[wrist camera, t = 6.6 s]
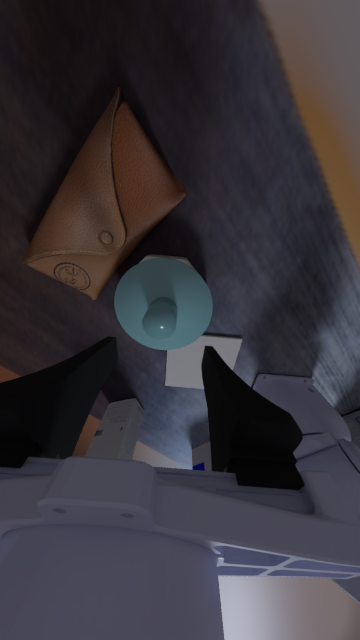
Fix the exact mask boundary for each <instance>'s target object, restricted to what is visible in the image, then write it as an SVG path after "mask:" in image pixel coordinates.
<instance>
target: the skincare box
mask: <svg viewBox="0 0 360 640" xmlns="http://www.w3.org/2000/svg"><path fill="white" fill-rule="evenodd" d="M143 413H144V410H143V408H142V407H141V405H140V404H139V402H138V401H137V399H136V398H133V399H127V400H122V401H117V402H112V403H110V404H109V405H108V407H107V409H106V412H105V414H104V416H103V418H102V420H101V423H100V425H99V427H98V429H97V431H96V433H95V435H94V438H93V440H92V442H91V444H90V447H89V449H88V451H87V453H86V455H85V456H89V457H101V458H114V459H127V460H132V458H133V454H134V450H135V446H136V442H137V437H138V433H139V429H140V425H141V421H142V417H143Z"/></svg>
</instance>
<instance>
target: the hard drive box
mask: <svg viewBox="0 0 360 640" xmlns="http://www.w3.org/2000/svg"><path fill="white" fill-rule="evenodd" d="M342 418H343V420H344V421H345V423H346V424H347V426H348V429H349V431H350V434H351V442H353V443H354V444H355V445H357V446H358V447H359V448H360V410H359V411H356V412H354V413H351V414H348V415H345V416H343V417H342Z"/></svg>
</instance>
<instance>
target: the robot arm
mask: <svg viewBox="0 0 360 640" xmlns="http://www.w3.org/2000/svg"><path fill="white" fill-rule="evenodd" d="M117 359H118V352H117V343H116V337H106V338H105V339H103V340H101V341H99V342H98V343H96V344H94V345H93V346H91V347H89V348H88V349H86V350H84V351H82V352H80V353H78V354H77V355H75V356H73V357H71V358H69V359H67V360H65V361H62V362H60V363H58V364H56V365H53V366H51V367H48V368H45V369H43V370H40V371H38V372H35V373H32V374H29V375H26V376H23V377H20V378H16V379H13V380H9V381H6V382H2V383H0V640H224V633H223V622H222V613H221V602H220V593H219V582H218V576H262V577H266V576H267V577H313V578H330V579H331V580H332V581H333V582H335V583H336V584H337V585H338V586H339V587H340V588H342V589H343V590H344V591H345V592H346V593H348V594H349V595H350V596H351V597H352V598H353V599H355V600H356V601H357V602H358V603H359V604H360V448H359V447H358V446H357V445H355V444H354V443H353V442H351V434H350V431H349V429H348V426H347V424H346V423H345V421H344V420H343V418H342V417H341V416H340V414H339V413H338V412H337V411H336V410H335V409H334V408H333V407H332V406H331V405H330V403H329V402H328V401H327V400H326V399H325V398H324V397H323V396H322V395H321V393H320V392H319V391H318V390H317V389H316V388H315V387H314V386H313V385H312V384H313V382H314V380H313V379H312V378H306V377H294V376H282V375H270V374H259V375H258V376H257V378H256V380H255V383H254V385H253V388H251V387H250V386H249V385H248V384H246V383H245V382H244V381H243V380H242V379H241V378H240V377H239V376H237V375H236V374H235V373H234V371H233V370H232V369H231V368H230V367H229V366H228V365H227V364H226V363H225V361H224V360H223V359H222V358H221V356H220V355H219V354H218V353H217V351H216V350H215V349H214V347H213V346H206V345H205V348H204V353H203V359H202V364H201V370H202V380H203V385H204V391H205V396H206V401H207V408H208V418H209V431H210V446H211V465H212V471H201V470H188V469H176V468H163V467H152V466H151V465H149V464H147V463H145V462H140V461H136V460H127V459H114V458H101V457H89V456H72V454H73V452H74V449H75V446H76V444H77V441H78V439H79V436H80V434H81V431H82V429H83V426H84V424H85V422H86V420H87V417H88V415H89V413H90V411H91V408H92V406H93V404H94V402H95V400H96V398H97V396H98V394H99V392H100V391H101V389H102V387H103V386H104V384H105V382H106V381H107V379H108V377H109V375H110V374H111V372H112V370H113V368H114V366H115V364H116V361H117Z"/></svg>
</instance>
